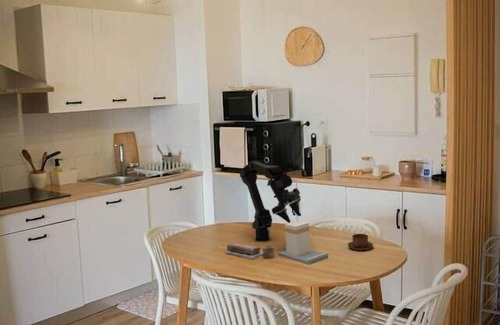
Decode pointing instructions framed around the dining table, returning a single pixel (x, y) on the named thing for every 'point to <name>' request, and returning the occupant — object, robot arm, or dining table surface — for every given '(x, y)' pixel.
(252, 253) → the packaged product
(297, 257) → the podium
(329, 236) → the dining table surface
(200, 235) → the dining table surface
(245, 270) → the dining table surface
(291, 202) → the robot arm
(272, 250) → the walnut block
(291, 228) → the carton
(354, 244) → the cup and saucer
